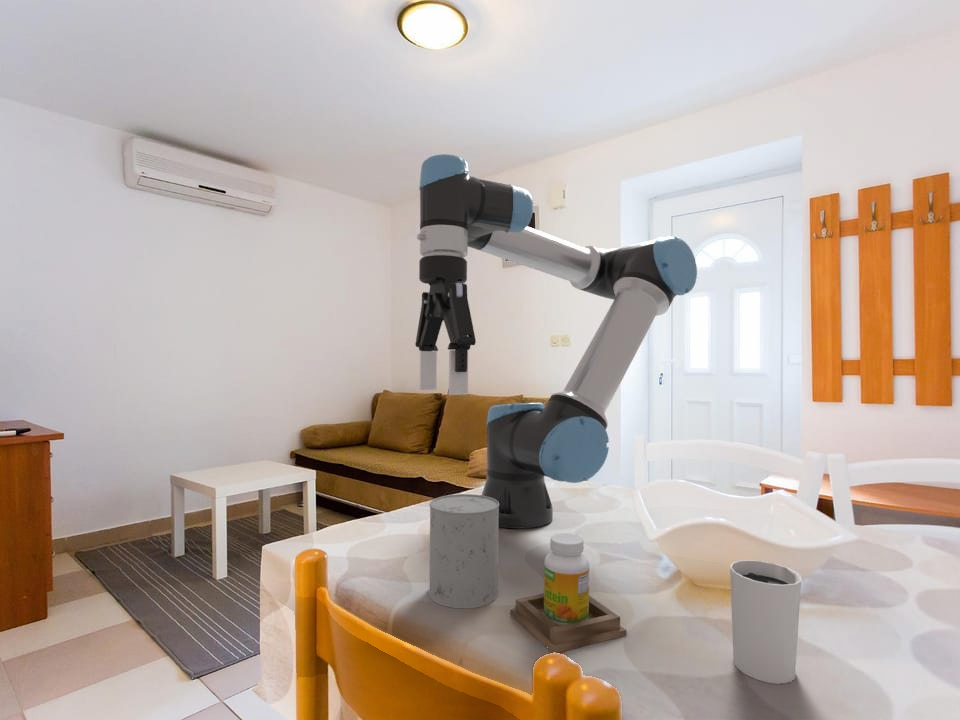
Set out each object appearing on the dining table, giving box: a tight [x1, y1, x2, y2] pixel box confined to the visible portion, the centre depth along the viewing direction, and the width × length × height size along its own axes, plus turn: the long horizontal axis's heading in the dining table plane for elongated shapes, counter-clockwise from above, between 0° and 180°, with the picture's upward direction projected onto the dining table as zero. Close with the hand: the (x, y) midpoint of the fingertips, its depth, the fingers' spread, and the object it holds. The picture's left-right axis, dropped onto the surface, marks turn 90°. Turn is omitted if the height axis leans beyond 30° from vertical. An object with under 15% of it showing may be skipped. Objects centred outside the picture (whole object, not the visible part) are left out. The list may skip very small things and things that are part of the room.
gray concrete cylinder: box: [428, 493, 499, 610], centre depth 73 cm, size 10×10×12 cm
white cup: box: [729, 559, 802, 685], centre depth 56 cm, size 7×7×10 cm
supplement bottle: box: [543, 532, 590, 626], centre depth 65 cm, size 5×5×10 cm
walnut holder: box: [509, 592, 627, 654], centre depth 65 cm, size 10×10×2 cm
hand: (442, 392), depth 85 cm, fingers open, 13 cm apart
